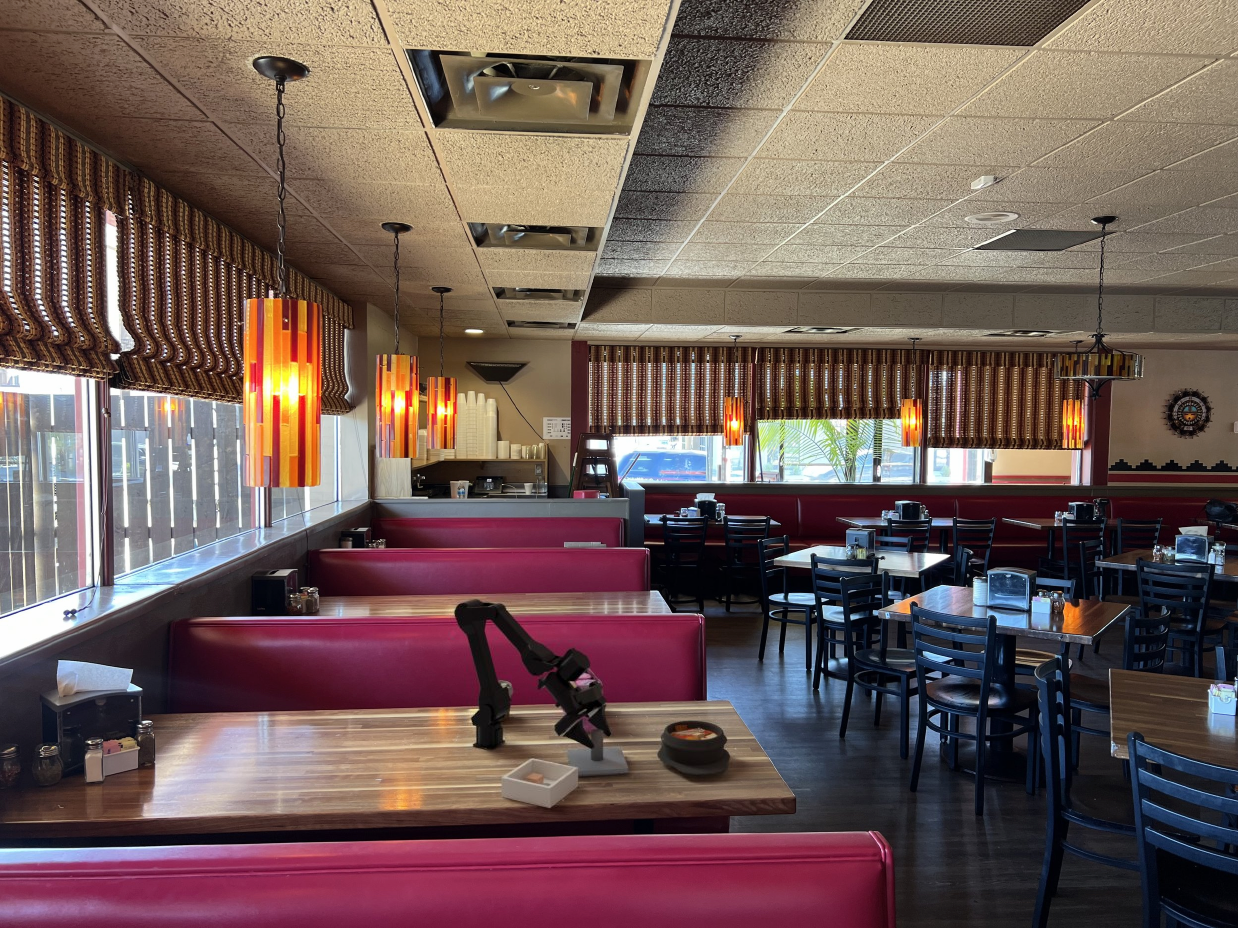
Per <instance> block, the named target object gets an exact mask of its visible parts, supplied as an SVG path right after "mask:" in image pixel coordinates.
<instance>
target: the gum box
mask: <svg viewBox="0 0 1238 928" xmlns="http://www.w3.org/2000/svg"><path fill="white" fill-rule="evenodd" d="M595 680H597V681H598V682H599V683H600V684H601V686H603V687H604V684H603V683H602V681H601V680H600V679H599V678H598V677H597V676H596V674H595V673H594V672H593V671H592V670H591V669H590V667H589V668H588V669H587V670H586V671H585V672H584V673H583V674H582V675H581V676H580V677H579V678H578V679H577V680H576V681H574V682H572V681H570V682H571V684H572V685H573V686H574V687H577V686H578V687H580V688H581V689H582V690H584V689H586V688H588V687H589V683H591V682H593V681H595ZM601 692H602V694H603V695H604V689H603V690H602V691H601ZM560 709H561V711H562V713H563V714H564V716H565V715H566V713H565V712H564V710H563V709H562V708H561V707H560ZM589 718H590V717H589ZM589 718H587V717H585V716H584V717H582V718H581V719H583V728H584V730H585V731H586V733H589V732H590V733H591V730H594V729H597V728H596V727H595V726H594V725H592V724H591V723H590V722H589V721H587V720H588V719H589ZM581 719H579V720H578V721H580V720H581Z"/></svg>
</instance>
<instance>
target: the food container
mask: <svg viewBox="0 0 1238 928" xmlns="http://www.w3.org/2000/svg"><path fill="white" fill-rule="evenodd" d="M498 682H499V684H500V685H501V686H502V687H503V688H504V687H506V686H507V687H508V690H509V696H510V698H511V697H512V695H513V693H514V690H513V689H514V688H513V685H512V683H511V682H509V681H506V680H500V679H499V680H498ZM511 699H512V698H511ZM510 712H511V708H510V709H509V711H508V712H507V713H506V716H505V718H504V719H502V720H500V722H502V724H505V723H507V722H509V721H510V714H511V713H510Z"/></svg>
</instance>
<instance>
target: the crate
mask: <svg viewBox="0 0 1238 928" xmlns="http://www.w3.org/2000/svg"><path fill="white" fill-rule="evenodd" d="M578 787H579V776H578V768H577V767H572V766H570V765H567V764H562V763H557V762H551V761H547V760H541V759H537V758H533V757H532V758H530V759H528V760H527V761H525V762H524V763H522V764H521V765H519V766H517V767H516V768H514V769H513V770H511V771H509V772H508V773H505V775H503V776H502V777H501V798H505V799H508V800H514V801H519V802H521V803H527V804H532V805H536V806H540V807H544V808H548V809H551V808H553V806H554V805H556V804H557V803H558V802H560V801H561V800H563V799H564V798H565V797H566V796H568V795H569V794H570V793H572V791H574V790H575V789H577V788H578Z"/></svg>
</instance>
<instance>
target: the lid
mask: <svg viewBox="0 0 1238 928" xmlns="http://www.w3.org/2000/svg"><path fill="white" fill-rule="evenodd" d="M590 739H591V740H592V742H593V744H594V746H595V747H594V748H593V749H590V748H578V749H577V748H575V749H574V748H573V749H566V752H567V753H566V754H567V759H568V763H569V765H568V766H572V767H577V768H578V777H589V776H593V777H594V776H608V775H610V776H611V775H621V774H623V773H629V766H628V763H627V760H626V757H625V756H624V752H623V749H622V747H621V746H618V747H617V746H615V747H604V734H603V730H601V729H594V730H591V732H590Z"/></svg>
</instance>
